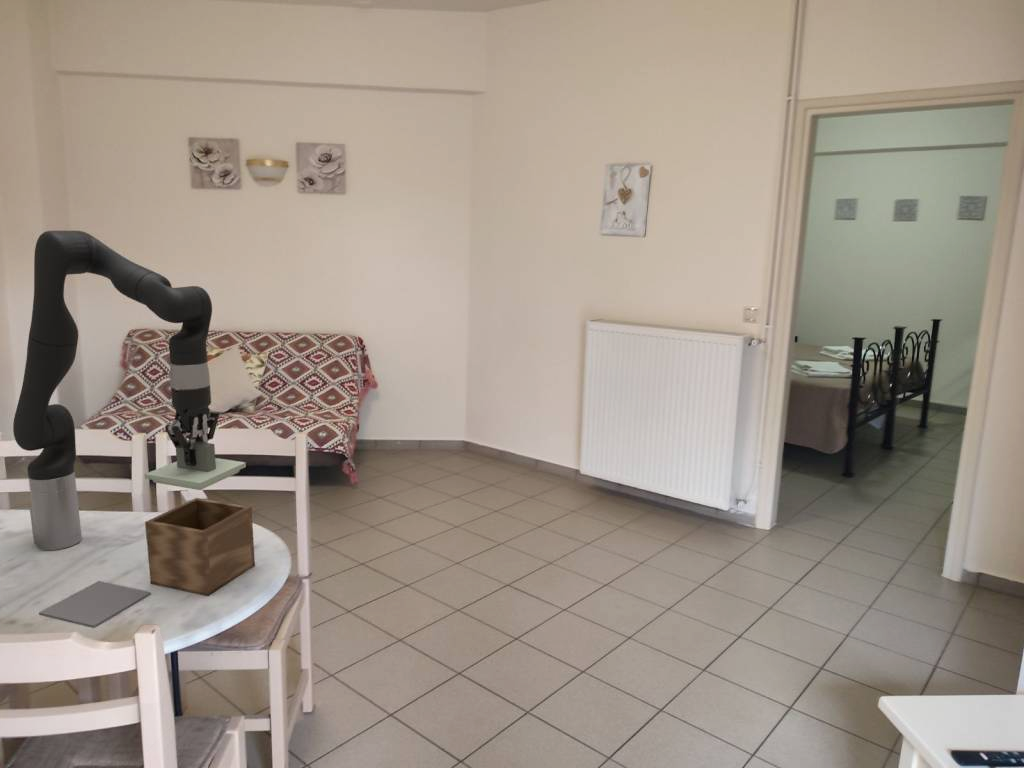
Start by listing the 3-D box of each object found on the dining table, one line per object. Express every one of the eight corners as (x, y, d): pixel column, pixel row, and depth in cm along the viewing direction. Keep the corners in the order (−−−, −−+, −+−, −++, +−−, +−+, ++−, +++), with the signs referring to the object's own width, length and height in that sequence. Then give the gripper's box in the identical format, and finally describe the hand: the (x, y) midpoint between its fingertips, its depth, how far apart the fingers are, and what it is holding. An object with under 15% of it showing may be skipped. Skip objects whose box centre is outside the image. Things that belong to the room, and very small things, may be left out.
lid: (145, 483, 154) (142, 448, 153) (194, 463, 167) (191, 431, 166) (200, 492, 150) (198, 456, 148) (246, 471, 163) (244, 438, 161)
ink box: (212, 544, 179) (209, 497, 176) (190, 548, 176) (186, 501, 173) (205, 531, 186) (201, 486, 183) (183, 535, 183) (179, 490, 180)
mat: (39, 614, 146) (38, 612, 146) (98, 582, 159) (98, 580, 159) (94, 627, 142) (94, 625, 141) (151, 594, 154) (150, 592, 154)
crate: (150, 583, 159) (145, 522, 156) (200, 554, 173) (196, 497, 170) (208, 595, 154) (203, 532, 151) (254, 565, 168) (251, 506, 165)
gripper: (199, 375, 162) (204, 452, 166) (150, 388, 149) (156, 471, 153) (228, 379, 160) (232, 456, 163) (180, 392, 147) (186, 476, 150)
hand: (196, 463), depth 158 cm, fingers closed on lid, 2 cm apart
